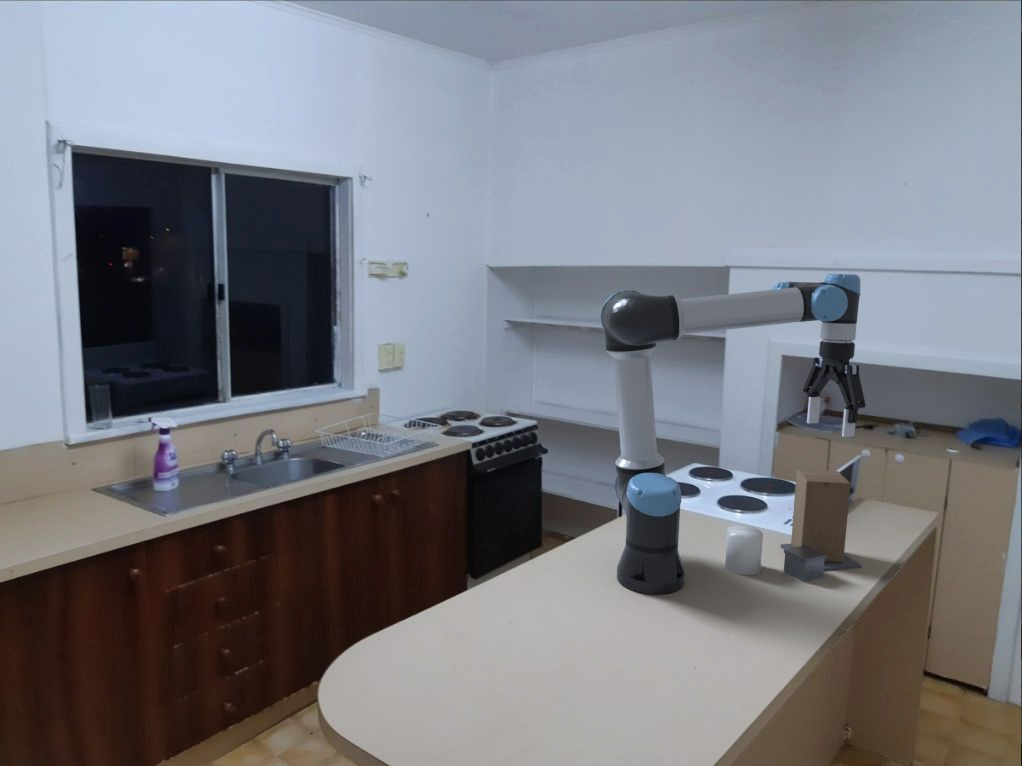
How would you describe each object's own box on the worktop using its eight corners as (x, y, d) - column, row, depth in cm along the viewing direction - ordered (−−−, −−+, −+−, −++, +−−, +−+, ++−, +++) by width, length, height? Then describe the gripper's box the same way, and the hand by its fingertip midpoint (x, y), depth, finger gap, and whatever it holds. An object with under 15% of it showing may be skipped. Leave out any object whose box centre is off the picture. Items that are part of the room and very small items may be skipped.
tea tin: (804, 583, 167) (806, 559, 166) (782, 572, 172) (784, 549, 171) (824, 577, 170) (826, 554, 169) (801, 567, 175) (803, 544, 174)
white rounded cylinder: (735, 576, 170) (737, 539, 168) (718, 562, 177) (721, 526, 176) (767, 573, 171) (769, 537, 170) (749, 559, 179) (751, 524, 177)
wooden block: (843, 563, 176) (851, 482, 172) (800, 560, 177) (806, 480, 174) (831, 547, 185) (838, 470, 182) (790, 544, 187) (796, 468, 183)
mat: (816, 571, 173) (816, 568, 173) (780, 546, 187) (780, 544, 187) (861, 567, 175) (861, 564, 175) (822, 543, 190) (823, 540, 189)
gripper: (888, 347, 161) (879, 441, 164) (819, 334, 185) (812, 417, 188) (858, 347, 159) (849, 443, 163) (792, 335, 183) (786, 418, 187)
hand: (829, 429), depth 176 cm, fingers open, 13 cm apart
